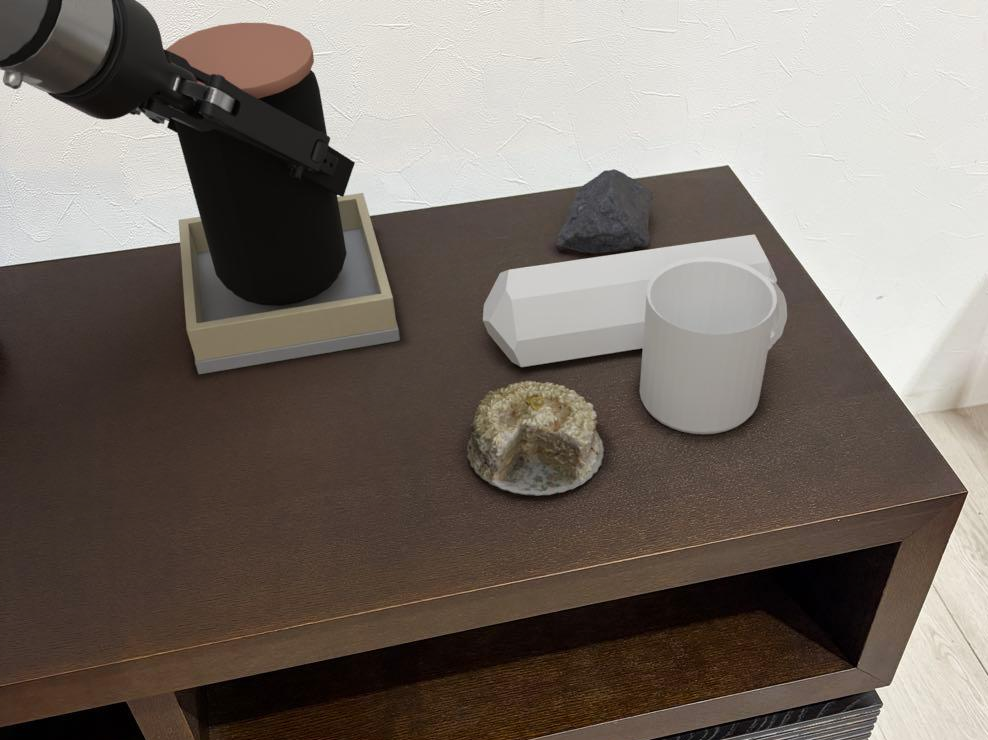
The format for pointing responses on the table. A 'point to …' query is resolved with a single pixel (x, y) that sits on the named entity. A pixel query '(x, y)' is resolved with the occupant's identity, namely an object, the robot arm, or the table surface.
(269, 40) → the coffee jar
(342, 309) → the shallow square crate
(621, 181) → the rock
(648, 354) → the mug
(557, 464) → the cake
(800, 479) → the table surface
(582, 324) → the crystal
